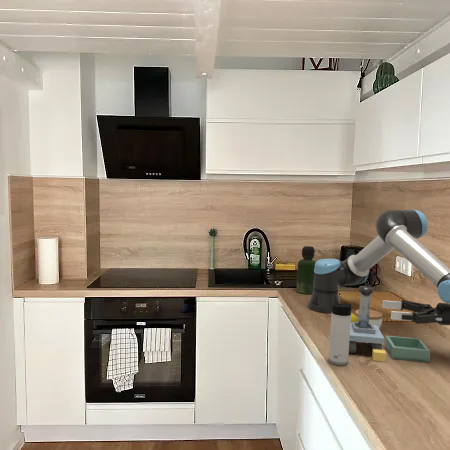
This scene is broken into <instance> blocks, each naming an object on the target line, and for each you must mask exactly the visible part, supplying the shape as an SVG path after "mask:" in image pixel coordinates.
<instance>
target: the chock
mask: <svg viewBox="0 0 450 450" xmlns="http://www.w3.org/2000/svg"><path fill="white" fill-rule="evenodd" d="M371 351H372V352H371V358H372V360H373V362H383V363H386V362H387V354H388V352H386V350H385V349H382V350H379V349H372V348H371Z"/></svg>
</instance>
